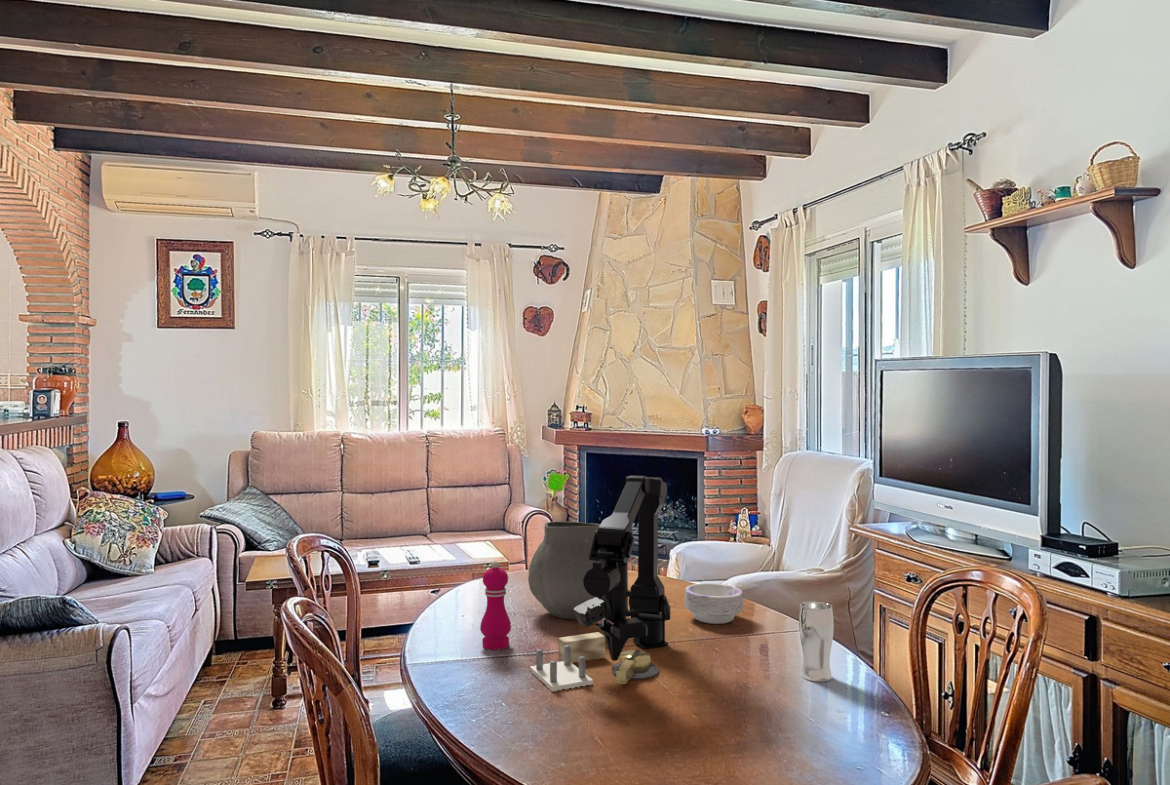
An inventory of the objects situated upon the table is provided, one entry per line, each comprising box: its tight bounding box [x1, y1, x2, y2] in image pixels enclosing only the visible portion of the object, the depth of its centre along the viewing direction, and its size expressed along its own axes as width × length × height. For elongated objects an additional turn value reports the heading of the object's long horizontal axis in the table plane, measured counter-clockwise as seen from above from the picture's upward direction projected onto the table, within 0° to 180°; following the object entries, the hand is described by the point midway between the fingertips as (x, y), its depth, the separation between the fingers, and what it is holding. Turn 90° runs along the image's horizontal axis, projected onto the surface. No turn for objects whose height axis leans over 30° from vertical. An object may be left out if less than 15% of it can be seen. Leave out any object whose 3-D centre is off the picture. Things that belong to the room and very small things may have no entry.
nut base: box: [611, 662, 659, 680], centre depth 170 cm, size 10×10×1 cm
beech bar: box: [557, 631, 606, 663], centre depth 179 cm, size 10×4×5 cm, turn 115°
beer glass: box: [798, 601, 835, 683], centre depth 166 cm, size 7×7×15 cm
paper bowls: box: [684, 582, 744, 625], centre depth 209 cm, size 15×15×8 cm
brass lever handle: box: [615, 648, 651, 685], centre depth 167 cm, size 14×7×3 cm, turn 161°
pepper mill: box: [479, 560, 512, 651], centre depth 188 cm, size 7×7×20 cm
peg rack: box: [529, 645, 594, 692], centre depth 167 cm, size 13×9×5 cm
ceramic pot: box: [527, 520, 607, 620], centre depth 214 cm, size 24×24×25 cm
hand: (614, 660), depth 166 cm, fingers closed
